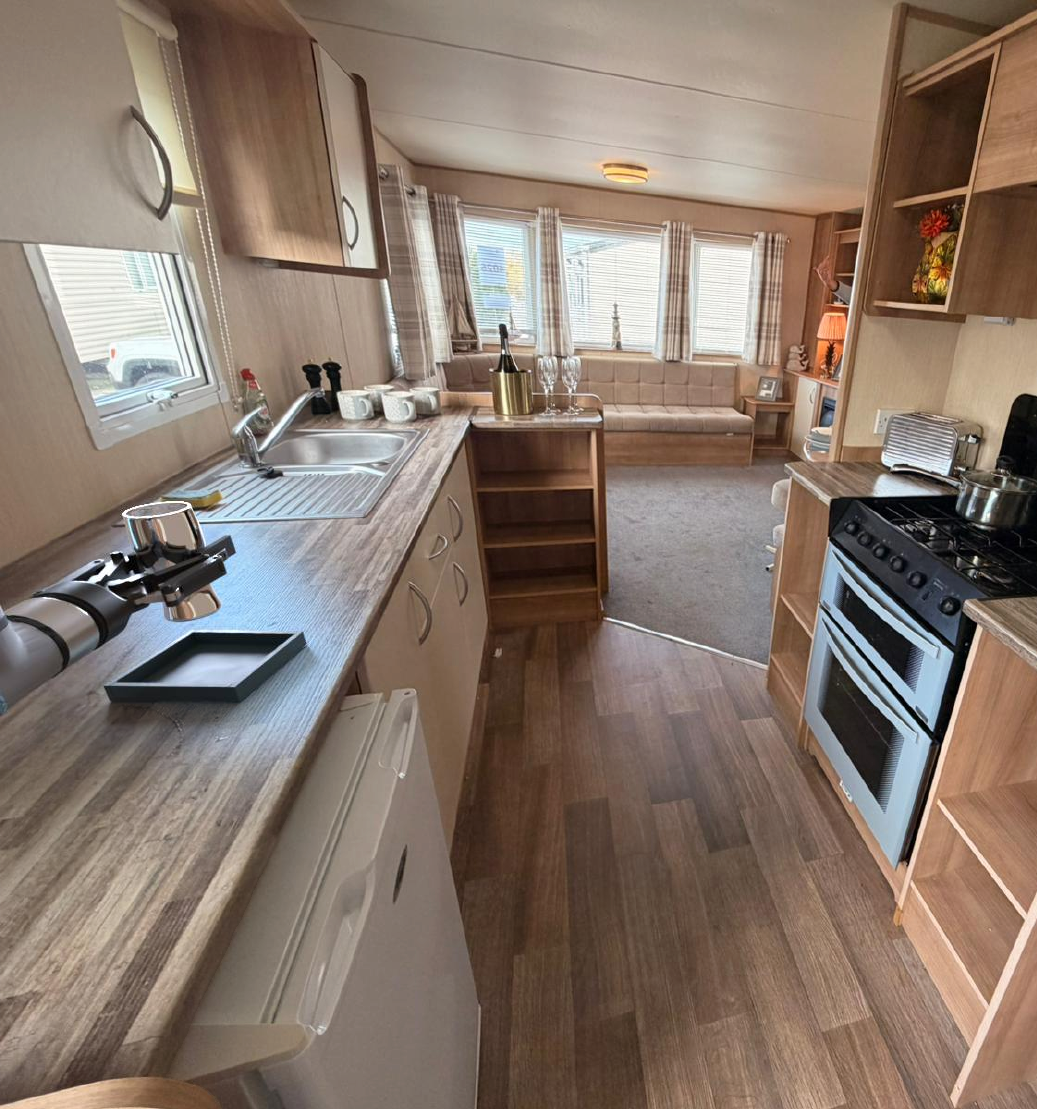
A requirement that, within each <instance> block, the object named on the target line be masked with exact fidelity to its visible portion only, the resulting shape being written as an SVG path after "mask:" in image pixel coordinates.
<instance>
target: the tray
mask: <svg viewBox="0 0 1037 1109" xmlns="http://www.w3.org/2000/svg"><path fill="white" fill-rule="evenodd" d="M306 644H307V645H306ZM305 645H306V646H305ZM304 646H305V647H304ZM307 646H308V643H307V639H306V636H305V633H304V631H303V630H245V629H244V630H243V629H240V630H239V629H191V630H189V631H187V632H185V633H184V634H182V635H181V636H180V637H178V638H177V639H175V640H173V641H171V642H170V643H168V644H167V645H165V646H163V647H162V648H160V649H159V650H157V651H156V652H155V653H153V654H151V655H150V656H148V657H146V658H145V659H143V660H142V661H140V662H138V663H137V664H136V665H134V666H132V667H130V668H129V669H127V670H126V671H124V672H123V673H121V674H119V675H118V676H116V677H115V678H113V679H112V680H110V681H109V682H107V683H106V684H104V685H103V689H104V691H105V694H106V695H107V698H108V700H109V702H110V703H214V704H215V703H226V704H228V703H231V704H232V703H233V704H234V703H236V704H238V703H242V702H243V701H244V700H245V699H246V698H247V697H249V696H250V695H251V694H252V693H254V691H256V690H257V689H258V688H259V687H261V685H263V684H264V683H265V682H266V681H268V680H269V679H270V678H271V677H272V676H273V675H274V674H276V673H277V672H278V671H280V669H281V668H282V667H284V666H285V665H286V664H287V663H289V661H291V660H292V659H293V658H294V657H295V656H297V655H298V654H299V653H300V652H301V651H302V650H303V649H305V648H306V647H307ZM303 647H304V648H303ZM302 648H303V649H302ZM301 649H302V650H301ZM300 650H301V651H300Z"/></svg>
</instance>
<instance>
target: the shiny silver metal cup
mask: <svg viewBox="0 0 1037 1109" xmlns="http://www.w3.org/2000/svg"><path fill="white" fill-rule="evenodd" d="M121 516H122V519H123V522H124V526H125V530H126V534H127V537H128V540H129V543H130V546H131V548H132V550H133V551H132V552H134V553H135V555H136V557H137V558H138V560H139V562H140V564H141V565H142V567H143V568H144V570H145V573H149V574H152V573H155V572H157V571H160V570H163V569H165V568H168V567H171V566H173V565H176V564H178V563H181V562H184V561H186V560H189V559H192V558H194V557H196V556H195V553H196V552H198V551H199V550H201V549H203V548H204V547H206V546H207V542H206V539H205V536H204V533H203V530H202V527H201V524H200V523H199V520H198V517H197V516H196V514H195V512H194V510H193V506H192V504H191V503H189V502H184V501H163V502H154V503H149V504H144V505H139V506H135V507H132V508H130V509H127V510H125V511H123V512H122V513H121ZM161 603H162V611H163V617H164V619H165V620H166V621H168V622H171V623H185V622H192V621H197V620H201V619H204V618H207V617H209V616H212V615H214V614H216V613H217V612H220V610H221V609H222V608H223V607H224V606H223V601H222V600H221V599H220V597H219V595H218V594H217V592H216V590H215V589H214V586H213V583H210V584H208V585H207V586H205V587H203V588H201V589H200V590H198V591H196V592H195V593H193V594H191V595H189V596H188V597H186V598H185V599H184V600H183V601H182V602H181V603H180V604H179V605H178V606H175V607H166V604H165V603H164V602H161Z"/></svg>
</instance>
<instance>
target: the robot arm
mask: <svg viewBox="0 0 1037 1109" xmlns="http://www.w3.org/2000/svg"><path fill="white" fill-rule="evenodd" d="M236 554H237V551H236V548H235V545H234V542H233V538H232V535H231V534H230V535H229V534H228V535H226V534H225V535H223V536H221V537H220V538H218V539H216V540H214V541H213V542H211V543H210V544H208V545H206V547H204V548H203V549H201V550H199V551H198V552H196V553H195V556H196V557H194V558H192V559H189V560H186V561H184V562H181V563H178V564H176V565H173V566H171V567H168V568H165V569H163V570H160V571H157V572H155V573H152V574H149V573H146V571H145V570H144V568H143V567H142V565H141V564H140V562H139V560H138V558H137V557H136V555H135V553H134V551H132V552H130V553H128V554H127V555H125V554H124V552H123V551H114V552H110V553H109V557H110V559H111V560H109V561H108V562H106V561H105V559H94V560H92V561H90V562H88V563H87V564H85V565H84V566H82V567H80V568H78V569H77V570H75V571H73V572H72V573H69V574H68V575H67V576H65V577H63V578H62V579H60V580H58V581H56V582H55V583H53V584H51V585H47V586H46V587H43V588H41V589H38V590H36V591H33V592H32V593H31V594H32V596H31V597H30V598H28V599H25V600H22V601H20V602H18V603H17V604H14V605H13V606H11V607H9V608H7V609H5V610H4V611H3V608H2V605H0V717H1V716H2V715H4V714H5V713H6V712H7V710H10V709H11V708H12V707H13V706H15V705H16V704H17V703H19V702H20V701H22V700H23V699H24V698H26V697H27V696H28V695H30V694H31V693H33V692H34V691H35V690H37V689H39V688H40V687H41V686H43V685H44V684H45V683H47V682H49V681H50V680H52V679H54V678H56V677H58V676H59V675H60V674H61V673H62V672H64V671H65V670H67V669H68V668H70V667H72V666H73V665H75V664H76V663H77V662H79V661H81V660H82V659H84V658H85V657H87V656H89V655H90V654H91V653H92V652H94V651H97V650H98V649H99V648H101V647H103V646H104V645H106V644H107V643H108V642H110V641H111V640H113V639H115V638H117V636H119V635H120V634H122V632H123V631H124V630H125V629H126V627H127V625H128V623H129V621H130V619H131V617H132V615H133V614H135V613H136V612H139V611H142V610H145V609H147V608H148V607H150V605H151V604H157V603H162V602H164V603H165V604H166V607H175V606H178V605H179V604H180V603H181V602H182V601H183V600H184V599H185V598H186V597H188V596H189V595H191V594H193V593H195V592H196V591H198V590H200V589H201V588H203V587H205V586H207V585H208V584H210V583H211V584H213V583H214V582H215V581H217V580H219V579H220V578H222V577H224V576H225V575H227V574H228V572H227V571H228V570H227V569H226V565H225V563H224V562H226V561H227V560H228V559H229V558H231V557H233V555H236ZM132 572H133V576H132Z"/></svg>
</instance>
